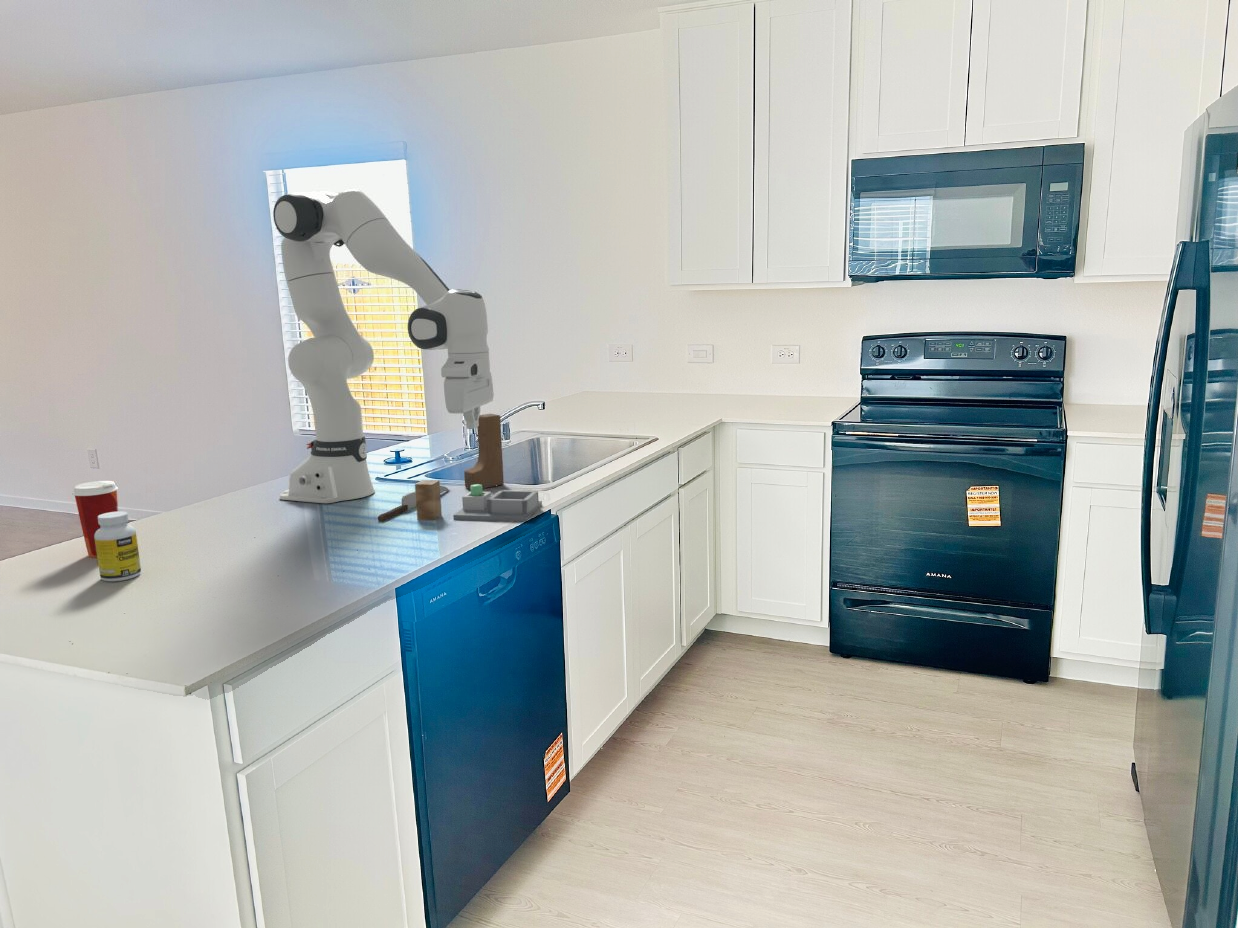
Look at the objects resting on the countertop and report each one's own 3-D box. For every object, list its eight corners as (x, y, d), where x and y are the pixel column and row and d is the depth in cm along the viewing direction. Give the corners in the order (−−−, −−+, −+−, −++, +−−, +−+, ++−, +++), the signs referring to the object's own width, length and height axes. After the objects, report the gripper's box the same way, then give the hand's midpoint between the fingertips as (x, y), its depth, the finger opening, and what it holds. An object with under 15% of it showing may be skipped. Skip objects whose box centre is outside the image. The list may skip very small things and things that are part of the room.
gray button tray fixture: (453, 519, 191) (452, 501, 190) (476, 503, 204) (475, 486, 203) (523, 521, 188) (522, 503, 187) (541, 505, 201) (541, 488, 200)
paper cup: (136, 549, 174) (126, 481, 171) (102, 561, 167) (91, 489, 164) (106, 546, 177) (96, 479, 174) (72, 557, 169) (61, 487, 167)
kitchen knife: (381, 507, 189) (450, 475, 217) (376, 507, 190) (446, 474, 217) (383, 526, 190) (451, 491, 218) (378, 526, 191) (447, 491, 218)
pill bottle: (113, 585, 153) (103, 521, 151) (93, 579, 156) (83, 516, 154) (149, 574, 158) (140, 512, 156) (129, 568, 162) (120, 508, 160)
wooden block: (473, 490, 217) (469, 419, 213) (464, 487, 220) (460, 417, 216) (504, 484, 222) (500, 415, 219) (494, 482, 226) (491, 413, 222)
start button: (469, 499, 195) (468, 486, 195) (473, 497, 198) (472, 484, 197) (480, 500, 195) (479, 487, 194) (484, 497, 197) (483, 484, 197)
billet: (417, 519, 191) (414, 484, 190) (424, 514, 195) (422, 480, 194) (434, 520, 191) (432, 484, 189) (441, 515, 194) (439, 480, 193)
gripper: (472, 361, 201) (475, 420, 204) (437, 370, 181) (441, 435, 184) (498, 361, 200) (501, 420, 202) (466, 370, 180) (470, 436, 183)
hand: (472, 428), depth 193 cm, fingers closed
